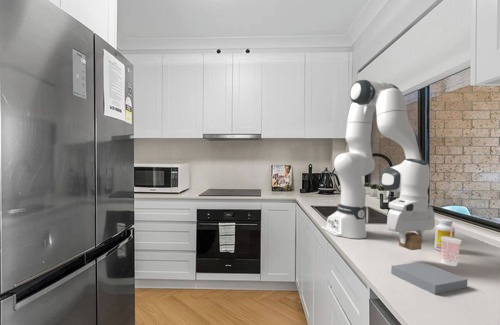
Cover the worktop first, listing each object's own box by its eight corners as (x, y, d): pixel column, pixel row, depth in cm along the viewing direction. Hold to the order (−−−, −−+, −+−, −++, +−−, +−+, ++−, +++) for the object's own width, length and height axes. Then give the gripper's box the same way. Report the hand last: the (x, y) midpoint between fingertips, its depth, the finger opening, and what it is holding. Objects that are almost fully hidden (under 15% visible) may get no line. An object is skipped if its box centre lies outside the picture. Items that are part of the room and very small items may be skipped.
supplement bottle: (456, 254, 113) (458, 222, 113) (438, 251, 115) (440, 220, 114) (448, 248, 120) (450, 218, 120) (431, 246, 121) (433, 217, 121)
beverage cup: (462, 265, 101) (465, 226, 101) (454, 267, 98) (457, 227, 97) (443, 259, 106) (446, 222, 106) (435, 261, 103) (438, 223, 102)
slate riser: (391, 273, 89) (391, 265, 89) (421, 268, 95) (421, 261, 95) (434, 294, 76) (435, 285, 76) (466, 287, 82) (467, 279, 82)
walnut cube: (398, 245, 102) (399, 232, 102) (408, 244, 104) (409, 231, 104) (411, 250, 98) (412, 236, 98) (421, 249, 100) (422, 235, 99)
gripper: (424, 202, 107) (421, 238, 108) (385, 203, 100) (382, 241, 100) (441, 205, 102) (438, 243, 102) (400, 206, 94) (397, 247, 94)
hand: (410, 242), depth 101 cm, fingers closed on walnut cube, 5 cm apart
